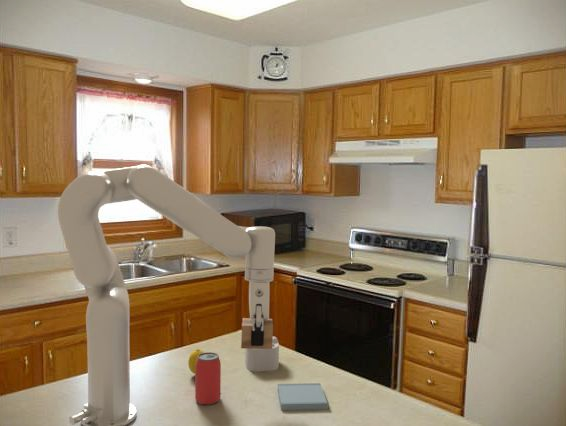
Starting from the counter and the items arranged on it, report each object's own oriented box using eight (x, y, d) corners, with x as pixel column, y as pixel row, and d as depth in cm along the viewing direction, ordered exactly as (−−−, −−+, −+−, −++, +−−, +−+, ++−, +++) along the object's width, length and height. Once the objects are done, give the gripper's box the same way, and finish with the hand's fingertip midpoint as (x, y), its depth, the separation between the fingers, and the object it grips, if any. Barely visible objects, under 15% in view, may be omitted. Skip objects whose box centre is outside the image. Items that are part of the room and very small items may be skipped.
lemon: (205, 379, 141) (205, 352, 140) (186, 378, 141) (186, 352, 140) (208, 371, 146) (208, 346, 146) (190, 371, 146) (190, 345, 146)
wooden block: (272, 349, 125) (273, 326, 124) (241, 348, 124) (242, 325, 124) (271, 340, 131) (272, 318, 131) (241, 339, 131) (242, 318, 130)
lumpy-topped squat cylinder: (246, 372, 147) (247, 344, 146) (243, 356, 159) (243, 330, 159) (280, 370, 148) (281, 343, 147) (274, 355, 161) (275, 329, 160)
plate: (281, 410, 123) (281, 404, 123) (277, 389, 135) (277, 383, 135) (327, 409, 124) (327, 403, 124) (320, 388, 136) (320, 383, 136)
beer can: (225, 399, 128) (225, 356, 127) (205, 408, 124) (206, 362, 123) (209, 392, 133) (210, 349, 132) (190, 399, 128) (190, 355, 127)
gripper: (275, 281, 118) (272, 352, 119) (271, 267, 135) (269, 330, 137) (245, 280, 117) (242, 352, 119) (244, 267, 135) (242, 330, 136)
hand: (256, 340), depth 128 cm, fingers closed on wooden block, 6 cm apart
